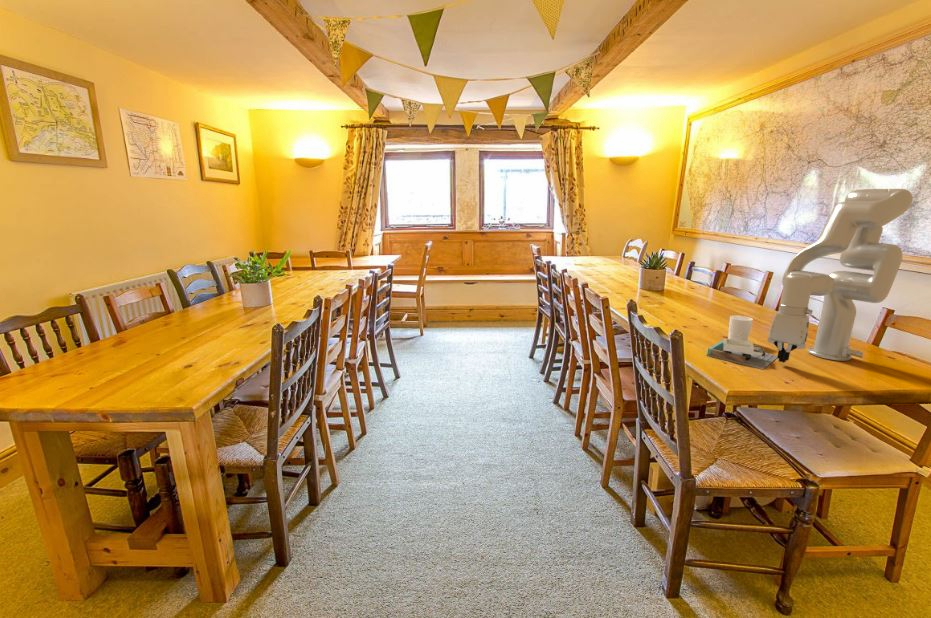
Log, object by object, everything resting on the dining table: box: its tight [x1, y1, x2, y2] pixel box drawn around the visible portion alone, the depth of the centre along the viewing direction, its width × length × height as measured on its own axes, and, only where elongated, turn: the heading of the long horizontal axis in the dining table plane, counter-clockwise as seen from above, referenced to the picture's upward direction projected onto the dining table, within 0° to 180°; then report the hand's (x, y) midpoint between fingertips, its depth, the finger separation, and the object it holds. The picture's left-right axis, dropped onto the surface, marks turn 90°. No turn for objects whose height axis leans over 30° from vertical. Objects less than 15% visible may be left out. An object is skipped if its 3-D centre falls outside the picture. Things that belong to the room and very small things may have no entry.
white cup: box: [727, 315, 754, 342], centre depth 174 cm, size 8×8×10 cm
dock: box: [706, 339, 778, 370], centre depth 158 cm, size 18×19×3 cm
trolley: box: [723, 337, 766, 360], centre depth 155 cm, size 13×8×5 cm, turn 60°
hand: (782, 361), depth 149 cm, fingers closed
